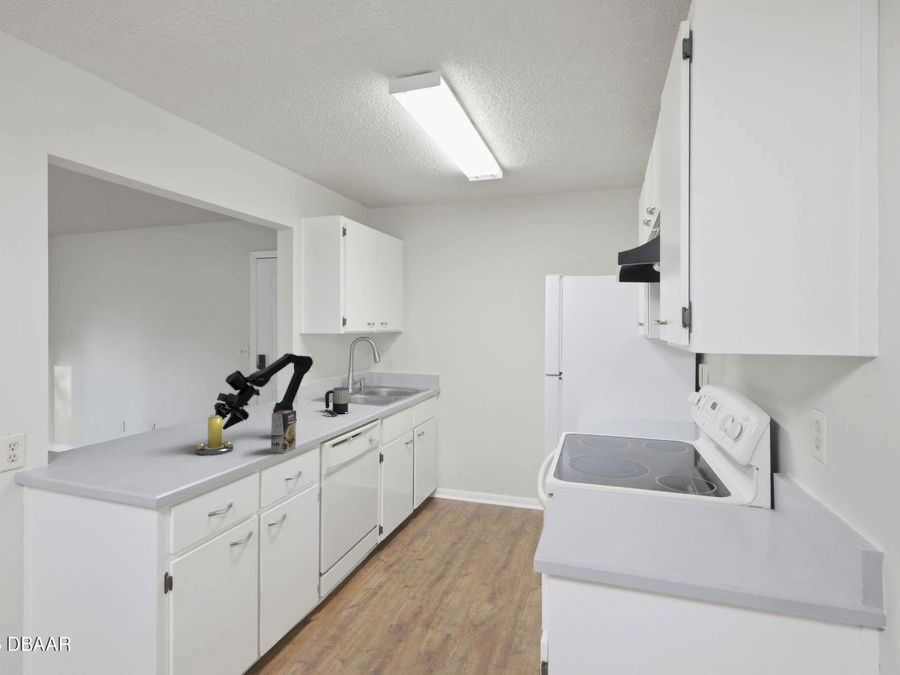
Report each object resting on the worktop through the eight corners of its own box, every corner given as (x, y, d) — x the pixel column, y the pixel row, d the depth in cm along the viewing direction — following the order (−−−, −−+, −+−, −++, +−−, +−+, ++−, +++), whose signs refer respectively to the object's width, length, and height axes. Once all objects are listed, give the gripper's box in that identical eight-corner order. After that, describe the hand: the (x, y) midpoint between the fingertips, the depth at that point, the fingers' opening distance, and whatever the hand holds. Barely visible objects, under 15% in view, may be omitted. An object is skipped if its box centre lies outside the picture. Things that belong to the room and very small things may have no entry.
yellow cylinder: (223, 445, 198) (223, 414, 197) (220, 448, 193) (220, 416, 192) (209, 445, 196) (209, 414, 196) (206, 448, 191) (206, 417, 191)
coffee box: (284, 453, 192) (285, 414, 192) (270, 452, 194) (270, 413, 193) (296, 448, 201) (296, 410, 201) (282, 446, 203) (283, 409, 202)
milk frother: (348, 411, 287) (348, 386, 286) (350, 416, 272) (351, 390, 271) (323, 412, 282) (323, 387, 282) (324, 417, 267) (325, 391, 267)
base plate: (222, 444, 204) (222, 435, 204) (240, 450, 196) (240, 440, 196) (188, 451, 193) (188, 441, 193) (205, 457, 185) (205, 447, 185)
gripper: (218, 383, 204) (192, 412, 196) (242, 387, 193) (215, 418, 185) (236, 399, 211) (211, 428, 202) (259, 404, 200) (234, 435, 191)
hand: (217, 427), depth 195 cm, fingers open, 9 cm apart
